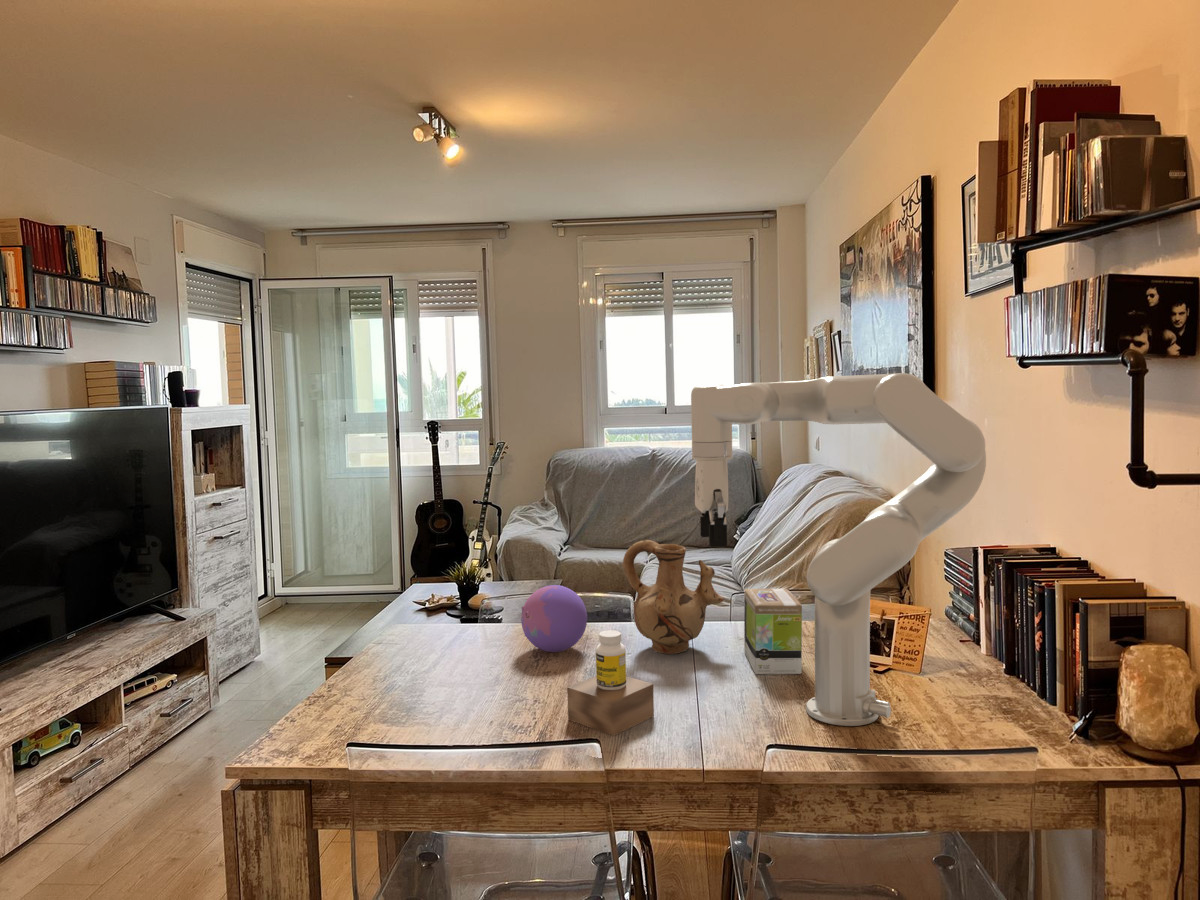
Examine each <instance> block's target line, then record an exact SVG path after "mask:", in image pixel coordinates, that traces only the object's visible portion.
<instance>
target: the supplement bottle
mask: <svg viewBox="0 0 1200 900" xmlns="http://www.w3.org/2000/svg"><path fill="white" fill-rule="evenodd" d="M598 636H599V637H598V640H599V644H598V645H597V646H596V648H595V667H596V669H595V670H596V671H595V673H596V675H595V676H596V677H597V686H598V687H599V688H600V689H603V690H619V689H622V688H624V687H625V686H626V676H627V664H626V661H627V660H626V659H627V658H626V646H625V645H624V644H623V643H621V642H622V632H620V631H618V630H610V629H608V630H603V631H600V632H599V634H598Z"/></svg>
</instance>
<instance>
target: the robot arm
mask: <svg viewBox="0 0 1200 900" xmlns="http://www.w3.org/2000/svg"><path fill="white" fill-rule="evenodd" d="M690 394H691V395H690V406H691V407H690V409H691V410H690V411H691V417H690V419H691V460H695V477H694V478H695V479H694V480H695V483H694V486H695V487H694V506H695V508H696V509H697V510H699V511H700V516H699V519H700V520H699V521H700V523H699V524H700V526H699V527H700V529H699V530H700V537H701V538H708V542H709V543H708V545H709V546H710V547H711V548H715V547H719V548H720V547H727V546H728V526H727V525H728V523H727V516H726V512H728V510H729V476H728V475H729V473H728V470H729V469H728V460H732V459H733V423H735V424H740V425H755V424H759V423H767V422H813V423H814V422H815V423H817V424H818V423H819V424H823V425H862V424H865V425H867V424H870V425H871V424H887V425H888V426H889V427H891V428H892V430H894V431H895V432H896V433H897V434H898V435H900V436H901V438H903V439H904V440H905V441H907V443H909V444H910V445H911V446H913V447H914V448H915V449H916V450H917V451H919V452H920V453H921V454H922V455H924V456H925V457H926V458H927V459H928V460H929V461H930V462H931V464H930V465H929V467H928V469H927V470H926V471H925V472H924V473H923V474H922V475H920V476H919V477H918V478H917V479H915V480H914V481H912V483H910V484H909V485H908V486H907V487H906V488H904V489H903V490H902V491H900V492H899V493H897V494H896V495H894V496H893V497H892V498H890V499H889V500H887V501H886V502H885V503H883V504H881V505H880V506H877V507H876V508H874V509H873V510H872V511H869V513H868V514H867V516H866V517H865V518H864V520H863V521H861V522H860V523H859V524H858V525H857V526H855V527H854V528H853V529H851V530H850V531H848V532H847V533H846V534H844V535H843V536H842V537H840V538H835V539H831V540H830V541H828V542H826V543H825V544H823V545H822V546H821V547H820V548H819V549H818V551H817V552H816V553H815V555H814V556H813V558H812V560H811V561H810V563H809V565H808V568H807V572H806V573H807V574H806V575H807V576H806V580H807V585H808V587H809V590H810V591H811V593H812V594H813V595H814V697H811V698H810V699H808V701H806V704H805V706H806V708H805V710H806V713H807V714H808V715H809V716H810V717H811V718H813V719H815V720H817V721H819V722H822V723H826V724H829V725H833V726H843V727H856V726H857V727H858V726H859V727H860V726H864V725H868V724H869V725H870V724H872V723H873V722H875V721H877V720H878V718H879V716H880V717H884V718H887V719H888V718H890V717H891V714H892V707H891V703H890V702H889V701H885V700H879V699H878V698H877V697H876V690H875V689H871V686H870V684H871V683H870V682H871V678H870V677H871V673H870V672H871V670H870V669H871V668H870V667H871V665H870V664H871V661H870V659H871V658H870V656H871V655H870V654H871V651H870V650H871V649H870V648H871V645H870V644H871V643H870V642H871V640H870V639H871V636H870V634H871V633H870V632H871V590H872V589H874V588H875V587H877V586H878V585H879V584H881V583H882V582H884V581H885V580H886V579H889V577H891V576H892V575H893V574H895V573H897V572H898V571H899V570H900V569H902V568H903V567H904V566H906V565H907V564H908V562H909V561H911V559H913V558H914V556H915V555H916V553H917V551H918V549H919V545H920V543H921V542H922V541H923V540H924V539H926V538H927V537H928V536H930V535H931V534H932V533H934V532H935V531H936V530H938V529H940V528H941V527H942V526H943V525H944V524H946V523H947V522H948V521H949V520H951V519H952V518H953V517H954V516H956V515H957V514H958V513H960V512H961V511H962V510H963V509H964V508H965V507H966V506H967V505H968V504H969V503H970V502H972V500H973V498H974V497H975V496H976V494H977V492H978V491H979V490H980V487H981V484H982V482H983V480H984V477H985V473H986V467H987V454H986V453H987V452H986V440H985V437H984V434H983V432H982V430H981V429H980V427H979V426H978V424H976V423H975V422H973V421H972V420H970V419H968V418H966V417H965V416H963V415H962V414H961V413H959V412H958V411H957V410H956V409H955V408H953V407H952V406H951V405H949V404H948V403H947V402H946V401H944V400H943V399H941V397H939V396H938V395H937V394H936V393H935V392H933V391H932V390H931V389H930V388H929V387H928V386H927V385H926V384H925V383H924V382H923V380H922V379H921V378H919V377H918V376H917V375H914V374H911V373H905V372H901V373H900V372H898V373H896V372H895V373H882V374H879V373H878V374H860V375H859V374H858V375H833V376H832V375H831V376H823V377H819V378H816V379H815V378H814V379H810V380H798V381H797V380H796V381H795V380H793V381H777V382H775V381H774V382H773V381H771V382H743V383H740V384H732V385H723V384H705V385H702V384H701V385H696V386H694V387H693V388H692V390H691V393H690Z"/></svg>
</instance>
